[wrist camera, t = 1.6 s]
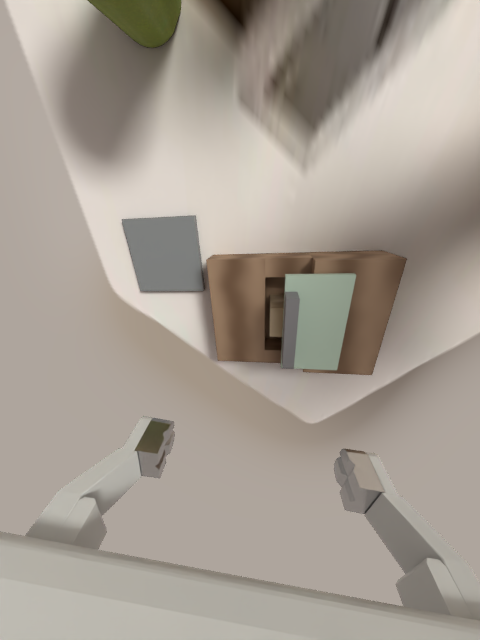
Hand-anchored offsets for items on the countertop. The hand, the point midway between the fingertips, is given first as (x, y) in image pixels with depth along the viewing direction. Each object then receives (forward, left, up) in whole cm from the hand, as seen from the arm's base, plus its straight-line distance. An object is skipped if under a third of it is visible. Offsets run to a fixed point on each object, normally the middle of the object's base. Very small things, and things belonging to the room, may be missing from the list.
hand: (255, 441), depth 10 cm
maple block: (-3, +4, -26) cm, 26 cm away
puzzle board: (-4, +4, -26) cm, 27 cm away
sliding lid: (-7, +4, -20) cm, 21 cm away
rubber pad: (+15, -5, -26) cm, 31 cm away
